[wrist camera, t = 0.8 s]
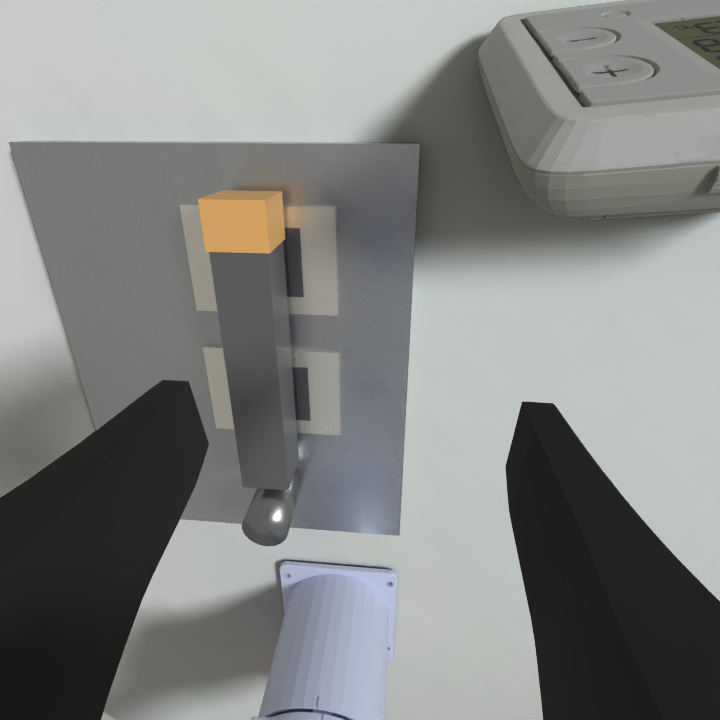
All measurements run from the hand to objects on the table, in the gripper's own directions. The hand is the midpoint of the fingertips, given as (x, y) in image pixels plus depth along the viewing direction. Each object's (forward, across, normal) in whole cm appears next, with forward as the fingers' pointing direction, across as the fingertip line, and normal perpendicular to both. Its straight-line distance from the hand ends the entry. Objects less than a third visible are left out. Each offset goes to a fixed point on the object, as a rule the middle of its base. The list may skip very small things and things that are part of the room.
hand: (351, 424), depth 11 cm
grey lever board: (+12, +8, +8) cm, 17 cm away
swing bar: (+11, +6, +6) cm, 14 cm away
